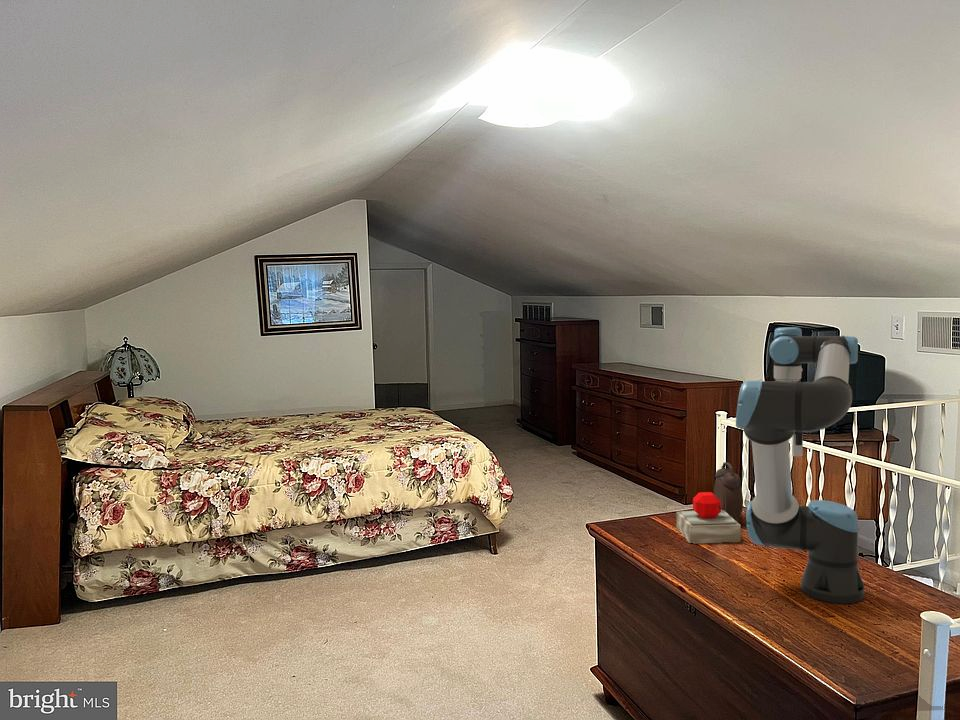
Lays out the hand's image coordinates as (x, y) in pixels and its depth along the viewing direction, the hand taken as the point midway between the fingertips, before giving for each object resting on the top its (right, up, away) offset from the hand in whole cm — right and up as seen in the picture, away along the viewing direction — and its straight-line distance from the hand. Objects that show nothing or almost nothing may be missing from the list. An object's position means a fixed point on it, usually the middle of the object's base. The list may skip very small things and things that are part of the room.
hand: (787, 451), depth 219 cm
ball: (-17, -24, +22) cm, 37 cm away
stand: (-17, -30, +23) cm, 41 cm away
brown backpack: (-5, -29, +38) cm, 47 cm away
